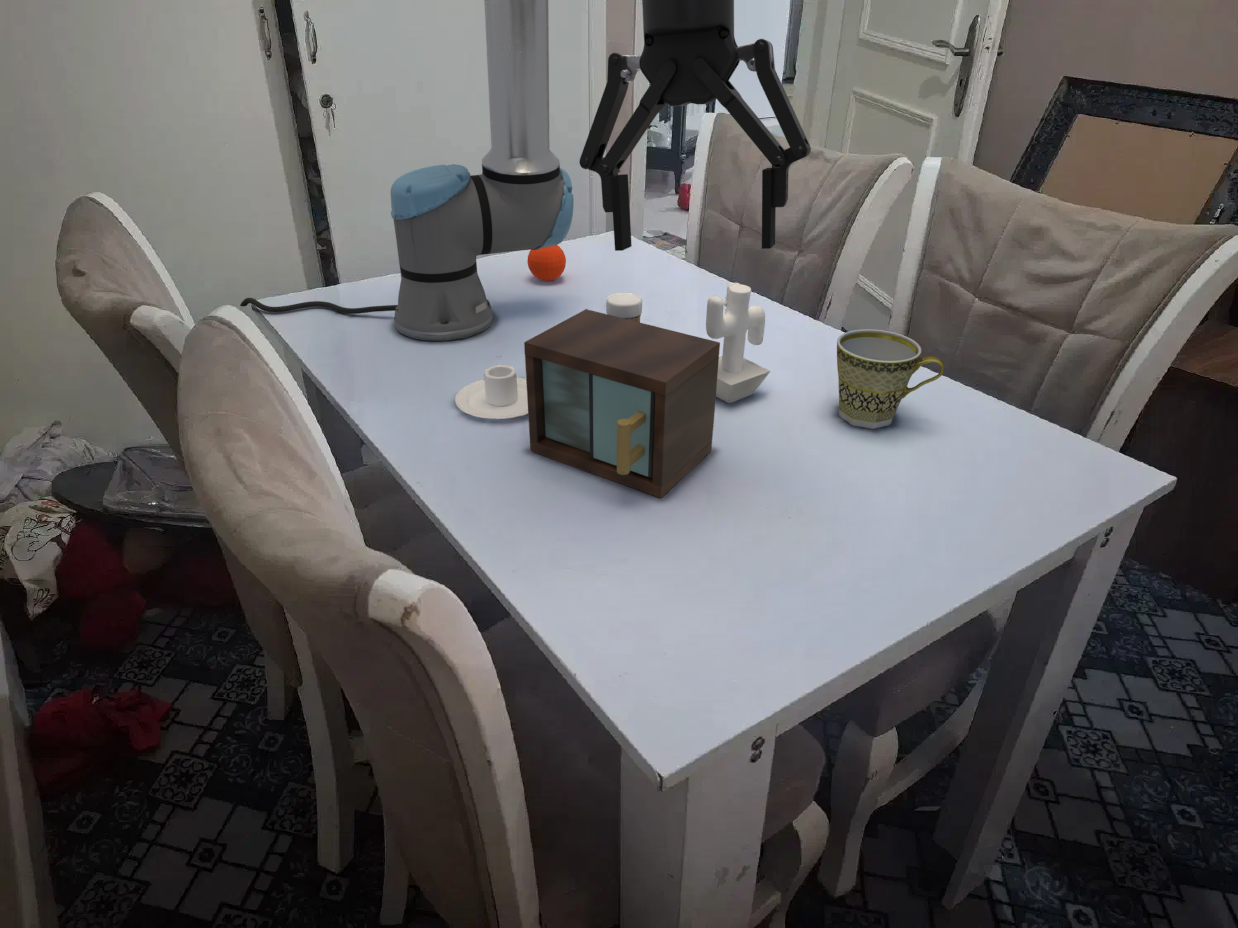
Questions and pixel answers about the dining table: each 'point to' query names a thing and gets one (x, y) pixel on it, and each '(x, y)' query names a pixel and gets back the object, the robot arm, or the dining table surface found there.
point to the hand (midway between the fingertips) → (693, 248)
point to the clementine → (547, 262)
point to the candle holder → (495, 395)
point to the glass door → (621, 425)
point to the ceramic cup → (876, 375)
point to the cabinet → (629, 357)
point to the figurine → (736, 342)
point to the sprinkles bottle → (624, 306)
